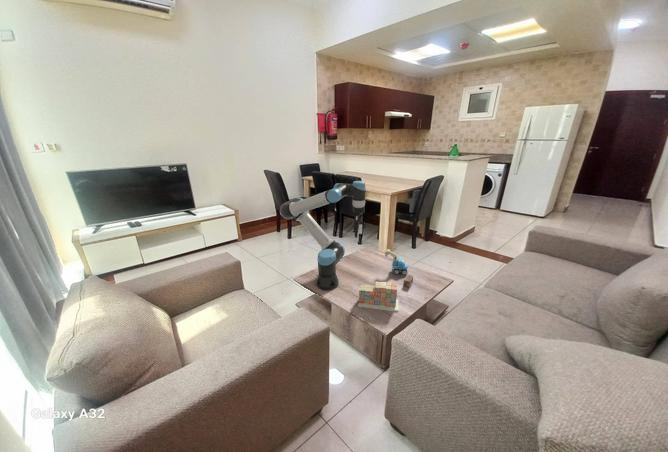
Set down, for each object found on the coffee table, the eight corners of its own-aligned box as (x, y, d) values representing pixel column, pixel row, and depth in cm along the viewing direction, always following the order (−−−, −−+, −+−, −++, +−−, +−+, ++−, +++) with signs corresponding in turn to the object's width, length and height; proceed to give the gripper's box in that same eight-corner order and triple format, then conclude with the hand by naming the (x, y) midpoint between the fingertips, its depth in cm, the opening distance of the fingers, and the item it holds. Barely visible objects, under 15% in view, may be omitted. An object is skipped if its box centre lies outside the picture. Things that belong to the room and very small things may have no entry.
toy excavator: (384, 267, 192) (385, 247, 186) (407, 269, 189) (408, 248, 183) (384, 273, 184) (385, 252, 178) (408, 275, 181) (410, 253, 175)
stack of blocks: (358, 303, 152) (359, 285, 147) (359, 296, 157) (360, 279, 153) (395, 307, 148) (397, 289, 143) (395, 300, 153) (396, 283, 149)
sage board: (358, 306, 150) (358, 305, 150) (360, 296, 160) (360, 295, 159) (398, 311, 146) (398, 310, 145) (398, 300, 155) (398, 299, 154)
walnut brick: (403, 286, 169) (403, 279, 167) (406, 280, 175) (407, 274, 173) (409, 288, 167) (409, 281, 165) (412, 282, 173) (413, 275, 171)
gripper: (361, 212, 148) (360, 245, 155) (367, 201, 170) (366, 230, 178) (348, 211, 150) (348, 244, 157) (356, 200, 172) (356, 229, 180)
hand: (358, 237), depth 167 cm, fingers open, 13 cm apart
